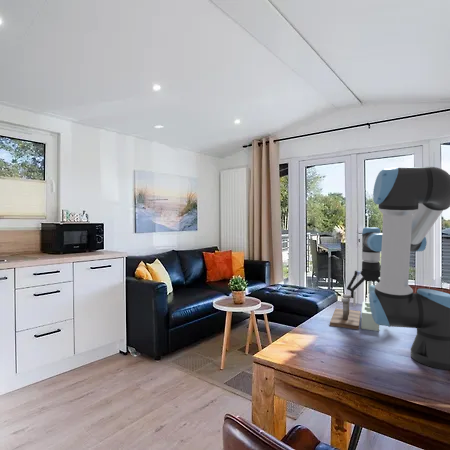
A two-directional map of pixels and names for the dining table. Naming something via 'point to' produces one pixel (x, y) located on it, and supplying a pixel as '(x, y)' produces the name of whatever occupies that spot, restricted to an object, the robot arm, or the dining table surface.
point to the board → (348, 322)
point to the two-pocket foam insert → (368, 318)
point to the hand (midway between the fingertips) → (370, 306)
